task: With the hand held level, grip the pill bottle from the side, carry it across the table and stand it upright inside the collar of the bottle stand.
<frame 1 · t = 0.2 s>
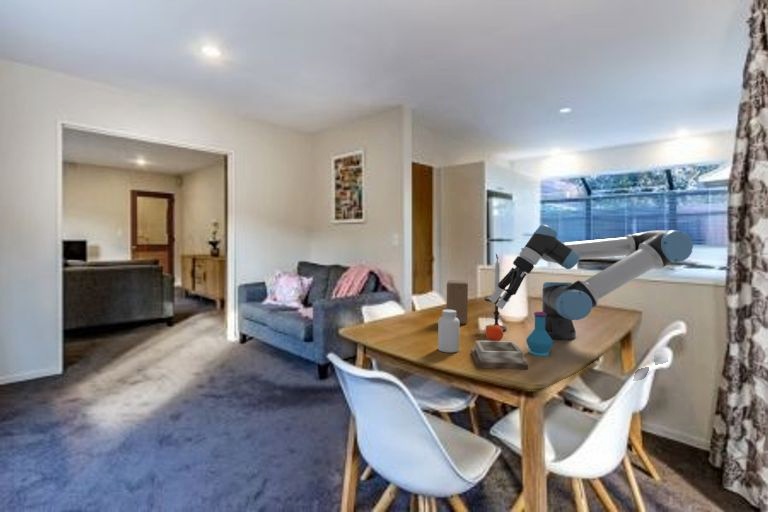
hand: (495, 304, 157), 15 cm above the table, tool tilted 35°, fingers open, 13 cm apart
red round lump: (493, 341, 160), on the table
wooden block: (457, 322, 195), on the table
bottle stand: (497, 360, 136), on the table
candlestick: (496, 329, 179), on the table
pill bottle: (448, 350, 149), on the table
perfume bottle: (539, 353, 145), on the table
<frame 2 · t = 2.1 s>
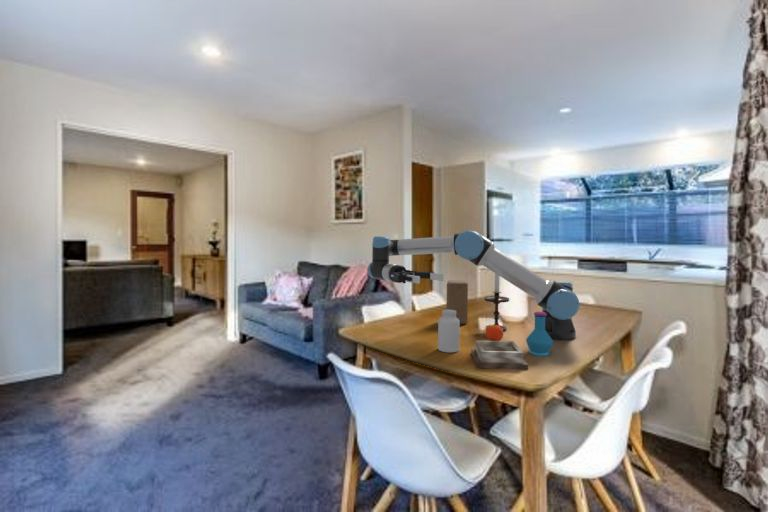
hand: (431, 278, 154), 26 cm above the table, tool horizontal, fingers open, 13 cm apart
nothing on the table moved.
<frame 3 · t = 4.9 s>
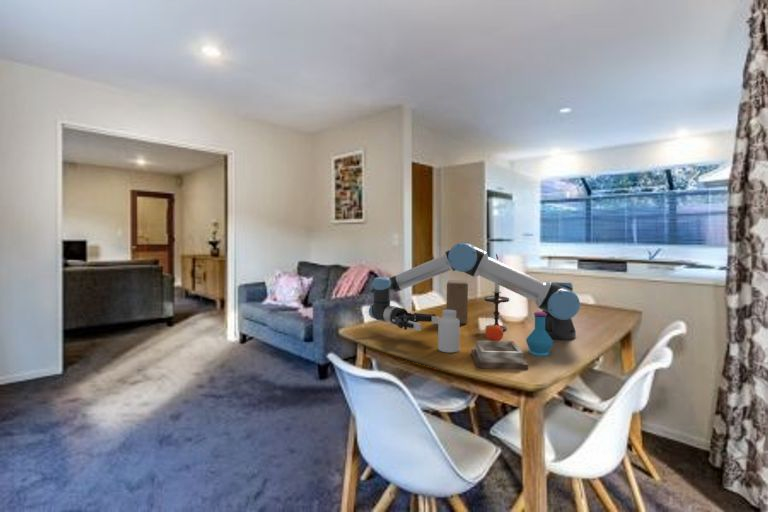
hand: (432, 324, 154), 8 cm above the table, tool horizontal, fingers open, 13 cm apart
nothing on the table moved.
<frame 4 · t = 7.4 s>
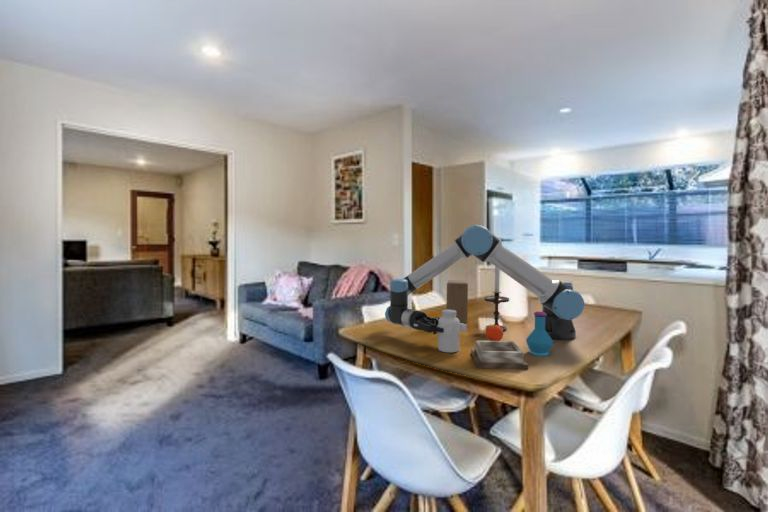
hand: (458, 330, 144), 9 cm above the table, tool horizontal, fingers closed on pill bottle, 8 cm apart
pill bottle: (448, 350, 149), on the table, touching gripper
everything else where it was.
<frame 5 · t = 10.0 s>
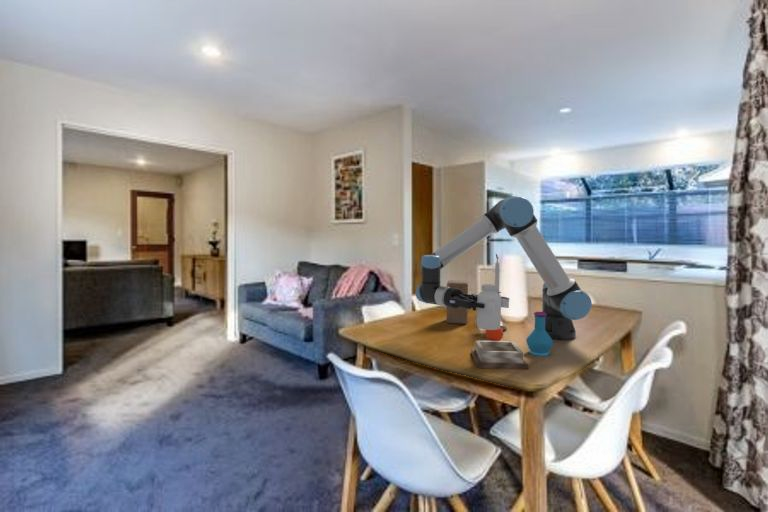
hand: (501, 305, 133), 20 cm above the table, tool horizontal, fingers closed on pill bottle, 8 cm apart
pill bottle: (488, 328, 137), point 11 cm above the table, touching gripper
everything else where it was.
when the fingers open (11 cm above the table, at t = 12.7 s): pill bottle drops 1 cm, resting on bottle stand.
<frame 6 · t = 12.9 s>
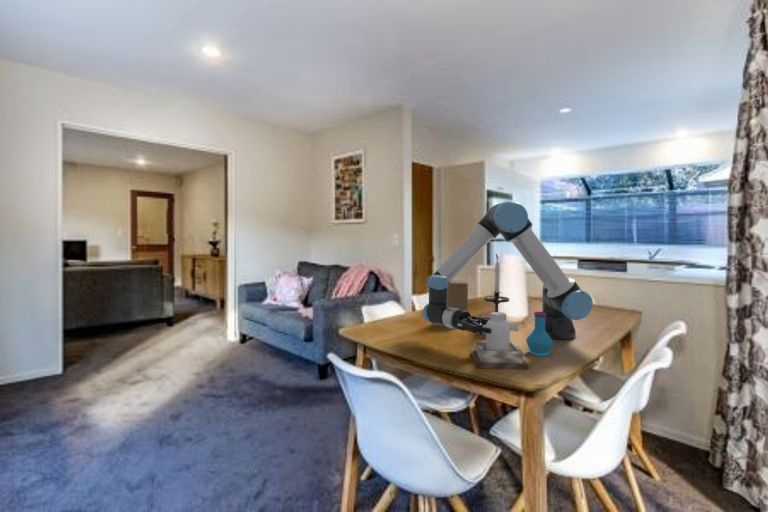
hand: (509, 330, 132), 11 cm above the table, tool horizontal, fingers open, 10 cm apart
pill bottle: (497, 356, 136), point 1 cm above the table, touching bottle stand
everything else where it was.
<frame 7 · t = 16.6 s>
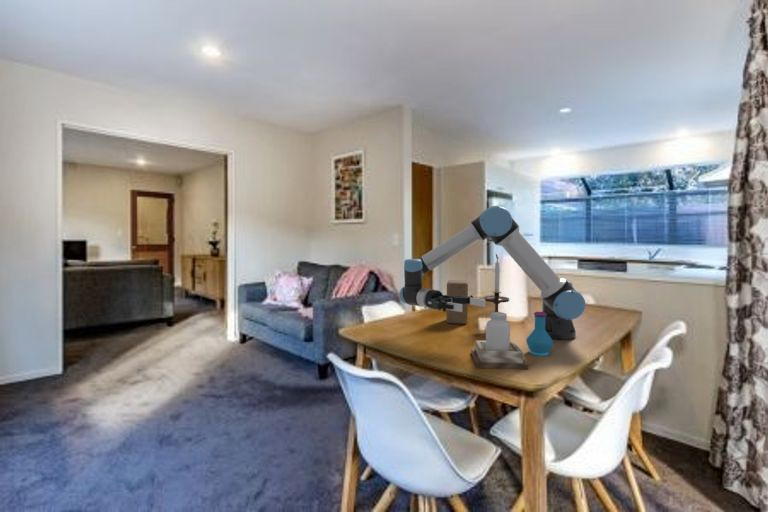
hand: (473, 305, 143), 18 cm above the table, tool horizontal, fingers open, 13 cm apart
nothing on the table moved.
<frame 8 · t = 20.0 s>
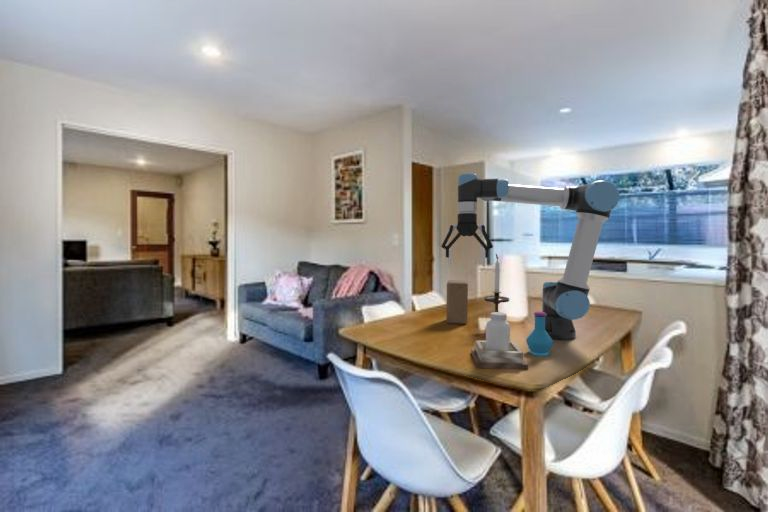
hand: (466, 265, 159), 31 cm above the table, tool pointing down, fingers open, 13 cm apart
nothing on the table moved.
at the end: pill bottle 0.2 cm off-centre on the bottle stand, point 1.3 cm above the bottle stand's base; pill bottle tilted 0°; the gripper is holding nothing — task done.
